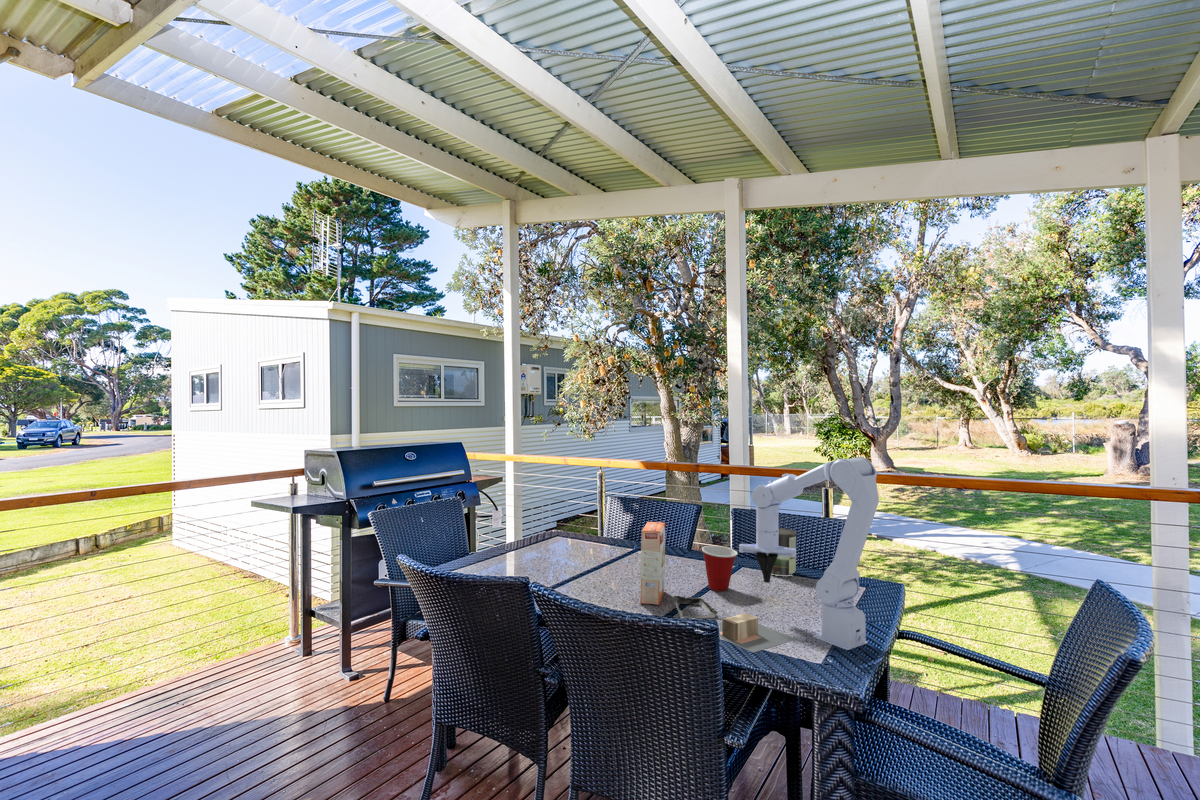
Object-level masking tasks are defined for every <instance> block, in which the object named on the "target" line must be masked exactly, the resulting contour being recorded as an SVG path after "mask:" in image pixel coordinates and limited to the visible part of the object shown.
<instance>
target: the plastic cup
mask: <svg viewBox="0 0 1200 800" xmlns="http://www.w3.org/2000/svg"><path fill="white" fill-rule="evenodd" d="M701 551H702V552H703V560H704V565H705V570H706V578H707V583H708V585H707V586H708V588H709V589H710V590H712V591H716V592H726V591H728V590H729V587H730V582H731V578H732V571H733V567H734V562H735V559H736V557H737V556H738V554H739V552H738V551H737V550H736V549H733V548H729V547H727V546H722V545H706V546H703V547H701ZM727 589H728V590H727ZM725 590H726V591H725Z"/></svg>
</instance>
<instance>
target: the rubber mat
mask: <svg viewBox="0 0 1200 800" xmlns="http://www.w3.org/2000/svg"><path fill="white" fill-rule="evenodd" d="M718 623H719V625H720V637H721V638H720V639H722V640H724V641H727V643H731V644H733V645H735V646H737V647H739V648H741V649H743V650H746V651H748V652H749V653H759V652H761V651H763V650H766V649H767V650H768V649H769V648H770V649H771V648H773V647H776V646H779V645H783V644H786V643H789V642H793V641H796V640H797V638H795V637H793V636H791V635H788V634H785V633H783V632H780V631H777V630H775V629H773V628H770V627H768V626H765V625H762V624H760V623H758V634H757V635H754V636H750V637H747V638H743V639H740V640H737V641H733V640H731V639H729V638H727V637H724V636H722V621H720V622H718Z"/></svg>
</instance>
